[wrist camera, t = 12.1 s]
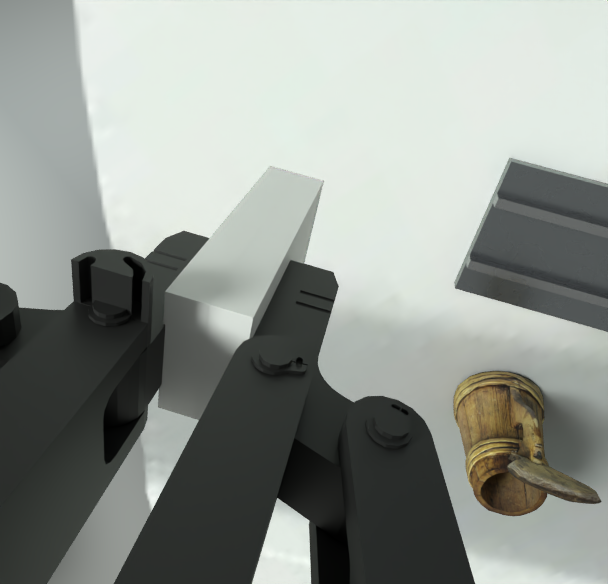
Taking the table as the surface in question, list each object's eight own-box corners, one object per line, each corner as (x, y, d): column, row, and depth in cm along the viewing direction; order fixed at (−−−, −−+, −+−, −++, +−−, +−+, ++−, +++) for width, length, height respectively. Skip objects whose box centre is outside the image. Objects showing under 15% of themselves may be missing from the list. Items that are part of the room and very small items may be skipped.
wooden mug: (581, 349, 48) (651, 519, 33) (521, 443, 55) (555, 617, 40) (487, 323, 48) (513, 479, 33) (440, 420, 56) (444, 583, 41)
